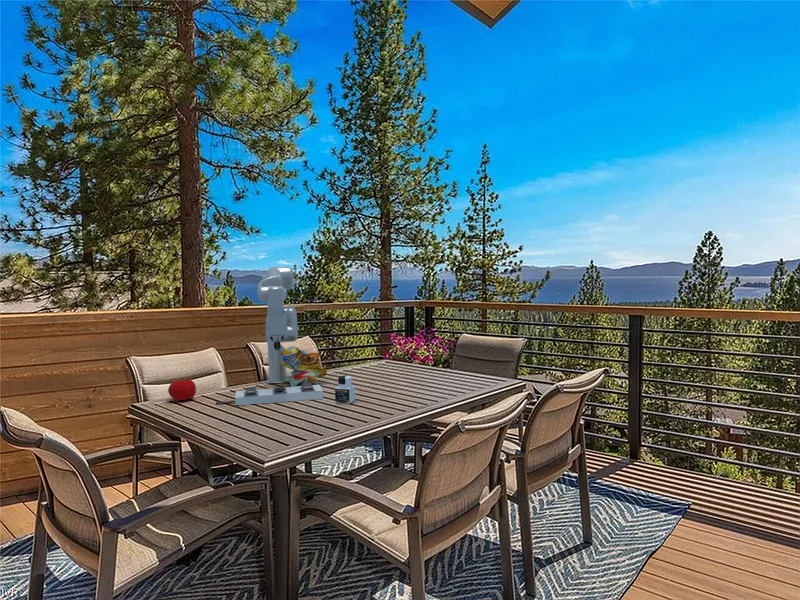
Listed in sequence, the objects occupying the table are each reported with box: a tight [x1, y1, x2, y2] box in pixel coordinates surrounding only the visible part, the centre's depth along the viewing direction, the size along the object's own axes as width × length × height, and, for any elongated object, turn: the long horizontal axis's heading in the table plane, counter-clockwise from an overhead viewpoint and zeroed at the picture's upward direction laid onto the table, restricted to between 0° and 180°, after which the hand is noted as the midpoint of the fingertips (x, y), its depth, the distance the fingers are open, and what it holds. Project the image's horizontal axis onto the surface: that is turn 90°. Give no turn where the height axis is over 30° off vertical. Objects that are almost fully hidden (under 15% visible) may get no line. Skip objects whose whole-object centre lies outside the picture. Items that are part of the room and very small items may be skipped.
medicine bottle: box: [334, 375, 356, 405], centre depth 242 cm, size 7×7×12 cm
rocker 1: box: [245, 386, 257, 395], centre depth 244 cm, size 7×4×2 cm, turn 16°
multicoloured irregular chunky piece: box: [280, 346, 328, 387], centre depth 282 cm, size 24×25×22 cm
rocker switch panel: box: [215, 384, 324, 406], centre depth 249 cm, size 14×49×5 cm, turn 106°
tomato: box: [167, 377, 197, 401], centre depth 254 cm, size 13×12×11 cm
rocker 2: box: [301, 382, 313, 391], centre depth 251 cm, size 7×4×2 cm, turn 16°
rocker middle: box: [273, 386, 285, 391], centre depth 248 cm, size 7×4×2 cm, turn 15°
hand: (277, 349), depth 254 cm, fingers closed
